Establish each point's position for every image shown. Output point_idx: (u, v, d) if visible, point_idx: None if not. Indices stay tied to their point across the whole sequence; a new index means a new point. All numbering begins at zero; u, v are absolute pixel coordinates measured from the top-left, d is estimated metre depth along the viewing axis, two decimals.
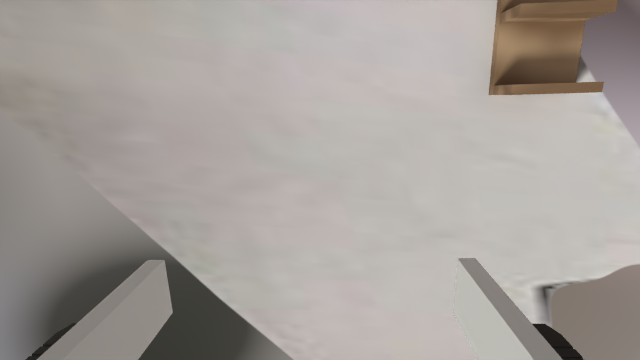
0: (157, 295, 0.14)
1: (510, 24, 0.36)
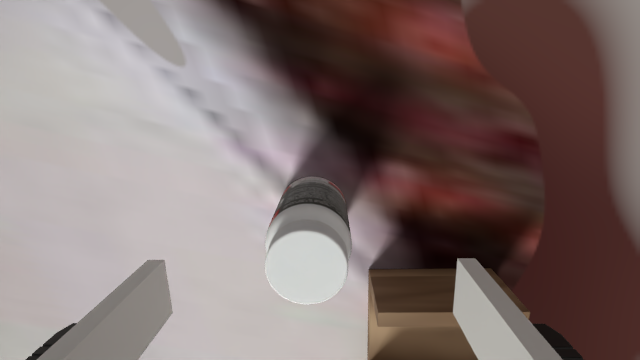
0: (157, 295, 0.14)
1: None
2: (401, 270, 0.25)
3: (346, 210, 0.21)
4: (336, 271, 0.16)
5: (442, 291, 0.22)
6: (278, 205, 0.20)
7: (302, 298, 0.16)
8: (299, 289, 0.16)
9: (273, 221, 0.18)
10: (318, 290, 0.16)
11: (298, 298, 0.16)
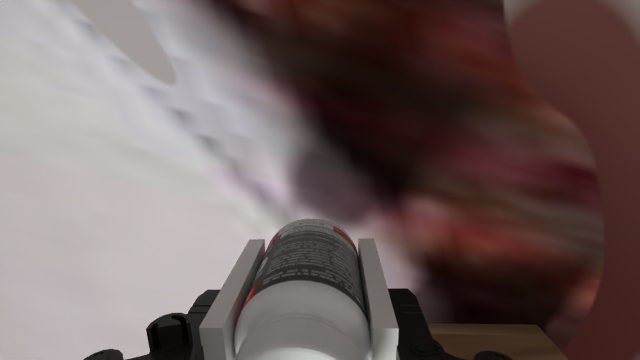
0: None
1: None
2: (428, 325, 0.21)
3: (359, 273, 0.14)
4: None
5: None
6: (259, 268, 0.14)
7: None
8: None
9: (246, 308, 0.11)
10: None
11: None
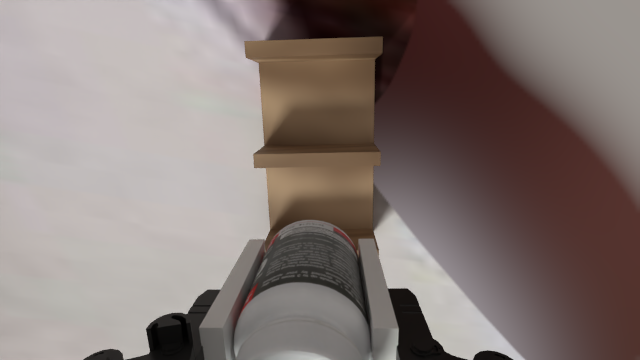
0: None
1: None
2: None
3: (360, 275, 0.14)
4: None
5: None
6: (259, 269, 0.14)
7: None
8: None
9: (245, 310, 0.11)
10: None
11: None
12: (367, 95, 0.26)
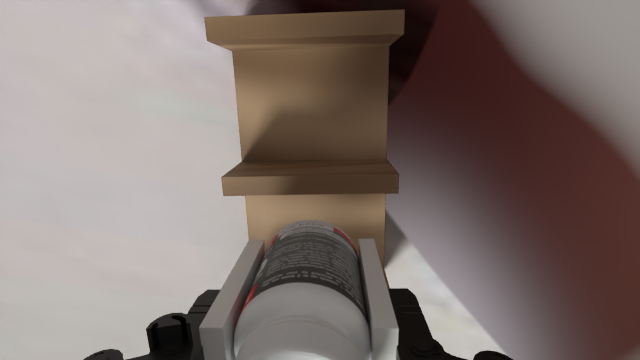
0: None
1: None
2: None
3: (360, 275, 0.14)
4: None
5: None
6: (259, 269, 0.14)
7: None
8: None
9: (245, 311, 0.11)
10: None
11: None
12: (378, 95, 0.20)
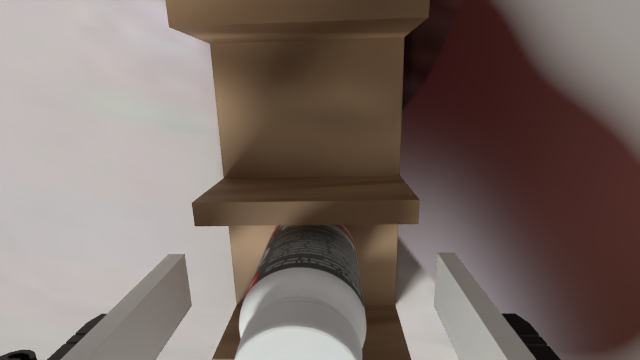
0: (178, 288, 0.15)
1: None
2: None
3: (356, 263, 0.15)
4: None
5: None
6: (262, 258, 0.15)
7: None
8: None
9: (249, 293, 0.12)
10: None
11: None
12: (390, 98, 0.16)
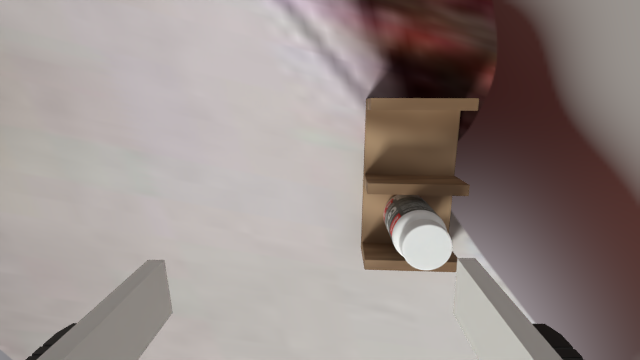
0: (157, 295, 0.14)
1: None
2: None
3: None
4: (446, 250, 0.26)
5: None
6: (392, 211, 0.31)
7: (423, 266, 0.27)
8: (422, 260, 0.27)
9: (399, 220, 0.28)
10: (433, 261, 0.27)
11: (421, 266, 0.27)
12: (451, 137, 0.33)
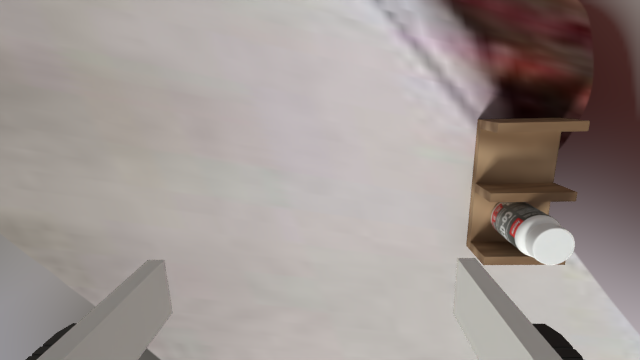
0: (157, 295, 0.14)
1: None
2: (499, 119, 0.38)
3: None
4: (569, 248, 0.32)
5: (532, 120, 0.36)
6: (507, 215, 0.37)
7: (549, 261, 0.33)
8: (549, 257, 0.33)
9: (523, 224, 0.34)
10: (558, 257, 0.33)
11: (547, 261, 0.33)
12: (553, 151, 0.38)
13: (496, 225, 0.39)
